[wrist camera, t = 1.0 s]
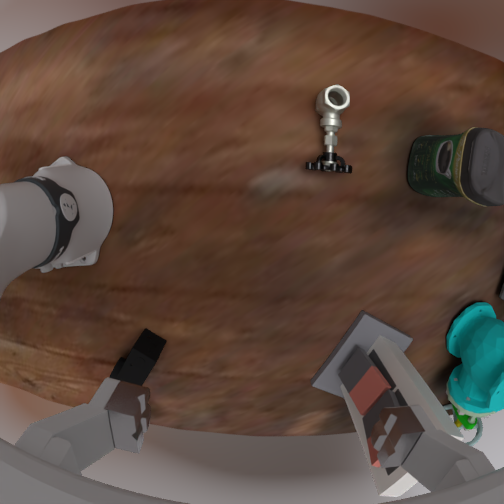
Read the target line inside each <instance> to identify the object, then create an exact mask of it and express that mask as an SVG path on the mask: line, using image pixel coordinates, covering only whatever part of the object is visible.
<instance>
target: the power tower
mask: <svg viewBox="0 0 504 504" xmlns="http://www.w3.org/2000/svg"><path fill="white" fill-rule="evenodd" d="M412 340H413V339H412V338H411V337H410V335H408V334H406V333H404V332H402V331H400V330H398V329H397V328H395V327H393V326H391V325H389V324H387V323H385V322H383V321H382V320H380V319H378V318H376V317H374V316H372V315H370V314H369V313H367V312H365V311H363V310H362V311H361V312H360V314H359V315H358V317H357V318H356V320H355V321H354V322H353V324H352V325H351V327H350V328H349V330H348V331H347V332H346V334H345V335H344V337H343V338H342V339H341V341H340V342H339V344H338V345H337V346H336V348H335V349H334V350H333V352H332V353H331V355H330V356H329V357H328V359H327V360H326V361H325V363H324V364H323V365H322V366H321V368H320V369H319V370H318V372H317V373H316V374H315V376H314V377H313V378H312V379H311V385H312V386H314V387H316V388H319V389H321V390H324V391H327V392H329V393H332V394H335V395H337V396H340V397H343V398H345V401H346V403H347V406H348V409H349V412H350V414H351V417H352V420H353V423H354V425H355V428H356V431H357V433H358V436H359V439H360V442H361V445H362V448H363V450H364V453H365V456H366V459H367V462H368V465H369V468H370V471H371V474H372V476H373V479H374V482H375V485H376V488H377V491H378V494H379V496H392V497H399V496H400V495H402V494H403V493H404V492H406V491H407V490H408V489H410V488H411V487H412V486H413V485H414V484H415V483H417V482H418V481H417V480H416V479H415V478H414V477H413V476H411V475H410V474H409V473H408V472H407V471H406V470H404V469H403V468H402V467H401V466H396V467H387V468H382V467H381V466H380V467H379V468H378V467H375V466H372V465H371V460H370V454H369V449H368V444H367V439H366V434H365V429H364V424H363V420H362V418H363V417H364V415H361V414H360V413H359V411H358V409H357V407H356V406H355V404H354V402H353V400H352V399H351V397H350V395H349V393H348V392H347V390H346V388H345V386H344V385H343V383H342V381H341V379H340V378H339V376H338V374H339V373H340V371H341V370H342V369H343V368H344V366H345V365H346V364H347V362H348V361H349V360H350V358H351V357H352V356H353V355H354V353H355V352H356V351H357V349H358V348H361V349H364V351H365V352H366V353H367V355H368V356H369V357H370V359H371V360H372V361H373V363H374V364H375V365H376V367H377V368H378V369H379V371H380V372H381V374H382V375H383V376H384V378H385V379H386V380H387V382H388V383H389V384H390V386H391V388H390V390H391V391H393V392H395V395H396V397H397V400H398V402H399V405H400V406H409V405H420V406H421V407H422V408H423V410H424V411H425V413H426V414H427V416H428V417H429V419H430V420H431V422H432V423H433V425H434V426H435V428H436V429H437V430H442V431H443V432H445V433H447V434H449V435H451V436H453V437H455V438H456V439H458V440H460V441H462V440H463V439H464V437H463V435H462V434H461V432H460V431H459V429H458V428H457V426H456V425H455V424H454V422H453V421H452V419H451V418H450V417H449V415H448V413H447V412H446V411H445V409H444V408H443V406H442V405H441V403H440V402H439V401H438V399H437V398H436V396H435V395H434V394H433V392H432V391H431V390H430V388H429V387H428V385H427V384H426V383H425V381H424V380H423V379H422V377H421V376H420V374H419V373H418V372H417V370H416V369H415V368H414V366H413V365H412V364H411V362H410V361H409V360H408V358H407V357H406V356H405V354H404V351H405V350H406V349H407V347H408V346H409V345H410V343H411V342H412Z"/></svg>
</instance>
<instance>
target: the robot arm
mask: <svg viewBox="0 0 504 504" xmlns="http://www.w3.org/2000/svg"><path fill="white" fill-rule="evenodd" d="M112 219H113V204H112V198H111V195H110V192H109V189H108V187H107V185H106V184H105V182H104V181H103V179H102V178H101V177H100V176H99V175H98V174H97V173H95V172H94V171H92V170H90V169H88V168H85V167H82V166H78V165H76V164H75V163H74V162H73V161H72V160H71V159H70V158H69V157H66V156H64V157H60V158H59V159H57V160H56V161H55V162H54V163H53V164H51V165H50V166H46V167H41V168H39V171H38V172H37V173H35V174H34V175H33V176H30V177H25V178H23V179H19V180H17V181H15V182H14V183H5V184H0V299H1V297H2V294H3V292H4V290H5V289H6V287H7V286H8V285H9V283H11V282H12V281H13V280H14V279H15V278H17V277H18V276H20V275H21V274H23V273H24V272H26V271H28V270H29V269H31V268H40V270H41V272H42V273H45V272H49V271H51V270H53V267H56V269H59V268H62V267H68V266H84V265H92V264H95V263H96V262H97V260H98V257H99V251H100V247H101V245H102V243H103V241H104V240H105V238H106V237H107V235H108V233H109V230H110V228H111V224H112ZM84 257H86V260H85V259H84ZM149 399H150V389H149V388H148V387H144V386H140V385H136V384H132V383H128V382H124V381H120V380H116V379H112V378H109V377H108V378H106V379H105V380H104V381H103V383H102V384H101V386H100V387H99V389H98V390H97V392H96V393H95V395H94V396H93V398H92V400H91V401H90V403H89V404H85V403H84V404H82V405H79V406H77V407H74V408H72V409H69V410H66V411H64V412H61V413H59V414H56V415H54V416H51V417H48V418H45V419H43V420H40V421H37V422H34V423H32V424H30V425H29V427H28V428H27V430H26V431H25V432H24V433H23V435H22V436H21V437H20V439H19V440H18V441H17V443H16V444H15V445H12V444H10V443H8V442H6V441H5V440H3V439H1V438H0V504H188V503H181V502H176V501H171V500H166V499H161V498H156V497H152V496H148V495H143V494H140V493H136V492H132V491H128V490H125V489H121V488H118V487H114V486H111V485H108V484H105V483H101V482H98V481H95V480H92V479H90V478H87V477H84V476H82V474H81V471H82V470H83V469H85V468H87V467H88V466H90V465H91V464H92V463H94V462H96V461H97V460H99V459H100V458H102V457H103V456H105V455H106V454H108V453H109V452H111V451H112V450H114V448H118V449H122V450H126V451H130V452H134V453H139V451H140V448H141V446H142V443H143V441H144V438H143V433H145V432H146V431H147V430H148V427H149V423H150V418H151V406H150V405H149V404H148V401H149ZM379 418H380V420H379V421H378V422H377V423H375V424H374V426H373V429H372V431H371V443H372V446H373V448H375V449H376V450H378V451H379V452H378V454H377V458H378V460H379V463H380V465H381V467H382V468H387V467H396V466H401V467H402V468H403V469H404V470H406V471H407V472H408V473H409V474H410V475H411V476H413V477H414V478H415V479H416V480H417V481H419V482H420V483H421V484H422V485H423V486H425V487H426V488H427V489H428V490H430V491H431V493H427V494H423V495H419V496H415V497H410V498H406V499H401V500H396V501H392V502H386V503H380V504H504V467H503V468H501V469H498V470H495V469H494V467H493V466H492V464H491V463H490V461H489V460H488V459H487V457H486V456H485V455H484V453H483V452H481V451H479V450H477V449H475V448H473V447H472V446H470V445H468V444H466V443H464V442H462V441H460V440H458V439H456V438H455V437H453V436H451V435H449V434H447V433H445V432H443V431H442V430H437V429H436V428H435V426H434V425H433V423H432V422H431V420H430V419H429V417H428V416H427V414H426V413H425V411H424V410H423V408H422V407H421V406H420V405H409V406H400V407H384V408H383V409H382V410H381V412H380V414H379Z"/></svg>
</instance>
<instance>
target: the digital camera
mask: <svg viewBox="0 0 504 504" xmlns="http://www.w3.org/2000/svg"><path fill="white" fill-rule="evenodd" d="M147 336H150V337H148V338H150V339H148V338H147ZM165 343H166V340H164V339H163V338H161V337H159V336H158V335H156V334H155V333H153V332H151V331H150V330H148V329H145V330H144V331H143V333H142V334H141V336H140V337H139V339H138V340H137V342H136V343H135V345H134V346H133V348H132V350H131V352H130V354H129V355H128V357H127V359H124V358H123V357H121V358H120V359H119V360H118V362H117V364H116V365H115V367H114V369H113V371H112V373H111V375H110V378H112V379H116V380H120V381H124V382H128V383H132V384H136V385H140V386H142V385H143V383H144V381H145V380H146V378H147V376H148V375H149V373H150V371H151V370H152V368H153V367H154V365H155V363H156V362H157V360H158V358H159V356H160V353H161V351H162V349H163V347H164V345H165Z"/></svg>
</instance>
